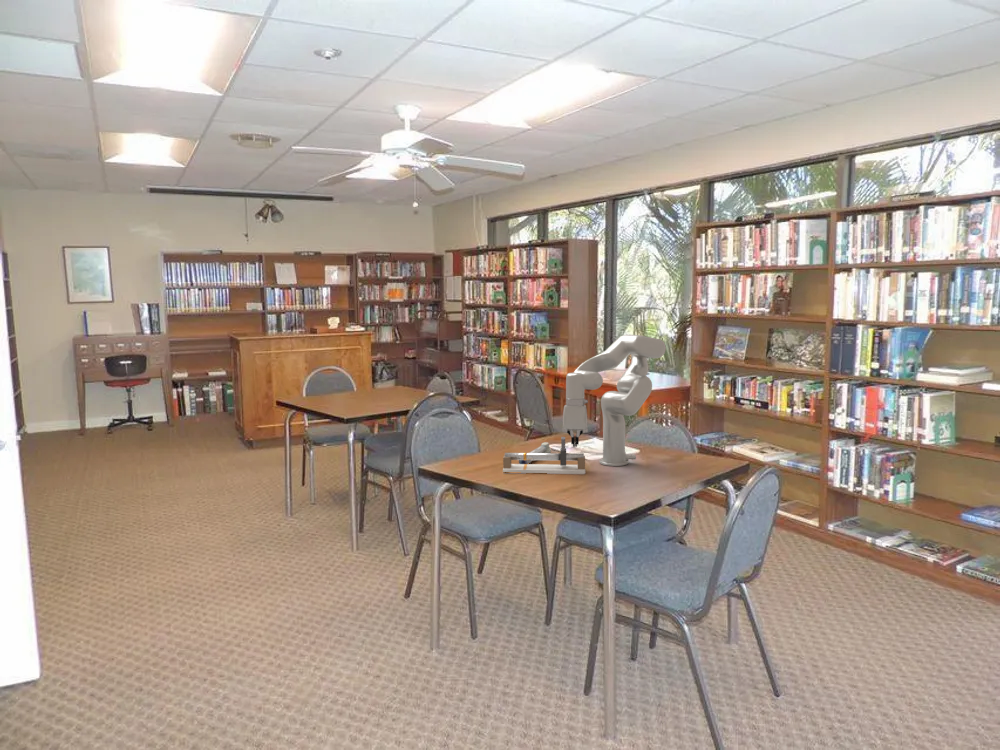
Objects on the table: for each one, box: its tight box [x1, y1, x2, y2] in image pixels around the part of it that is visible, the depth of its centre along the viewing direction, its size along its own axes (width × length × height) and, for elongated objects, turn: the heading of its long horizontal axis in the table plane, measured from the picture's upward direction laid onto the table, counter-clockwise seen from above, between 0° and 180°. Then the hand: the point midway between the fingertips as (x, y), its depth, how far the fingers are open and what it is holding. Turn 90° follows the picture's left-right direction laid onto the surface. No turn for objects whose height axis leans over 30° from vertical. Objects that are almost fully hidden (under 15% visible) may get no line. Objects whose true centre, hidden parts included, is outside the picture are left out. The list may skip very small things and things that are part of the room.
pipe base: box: [502, 454, 586, 475], centre depth 295 cm, size 34×10×6 cm, turn 85°
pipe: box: [504, 452, 585, 462], centre depth 294 cm, size 33×3×3 cm, turn 85°
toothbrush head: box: [518, 441, 552, 464], centre depth 315 cm, size 5×7×25 cm
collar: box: [559, 436, 567, 466], centre depth 293 cm, size 2×6×11 cm, turn 175°
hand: (574, 446), depth 292 cm, fingers closed
